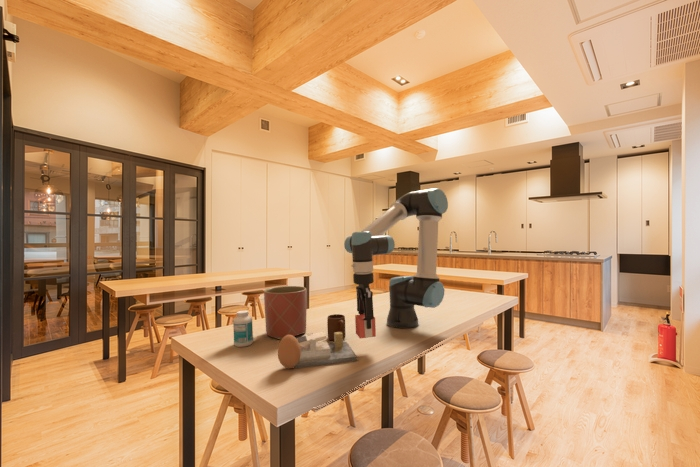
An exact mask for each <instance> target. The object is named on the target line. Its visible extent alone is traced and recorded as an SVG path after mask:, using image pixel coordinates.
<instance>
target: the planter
mask: <svg viewBox="0 0 700 467" xmlns="http://www.w3.org/2000/svg"><path fill="white" fill-rule="evenodd" d="M307 289H308V288H306V287H305V286H297V285H293V286H292V285H288V286H287V285H286V286H285V285H284V286H275V287H270V288H265V290H263V300H264V301H263V302H264V318H265V320H264V321H265V334H266V335H267V336H268V337H271V338H274V339H277V340H280V341H281V340H282V338H283V337H285V336H286V335H293V336H294V337H295V336H299V335H301V334H307V333H306V332H307V310H308V309H307V303H308V301H307V296H308V295H307V294H308V293H307Z"/></svg>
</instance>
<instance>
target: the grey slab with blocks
mask: <svg viewBox="0 0 700 467" xmlns="http://www.w3.org/2000/svg"><path fill="white" fill-rule="evenodd" d="M313 334H314V333H307V336H309V335H313ZM300 348H301V356H300V360H299V361H298V363H297V364H296V365H295V366H294V367H292V369H301V368H308V367H309V368H310V367H317V366H326V365H327V366H328V365H333V364H341V363H342V362H343V363H348V362H350V361H351V362H357V361H358V355H357V354H356V352H354V350H353V349H352V347H351V346H350V345H349V343H348V342H347V341H344V339H343V333H342V332H334V341H333V342H331V343H328V342H327V341H325V340H324V341H318V342H316V339H310V344H306V345H302V346H300ZM343 363H342V364H343Z"/></svg>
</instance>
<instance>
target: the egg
mask: <svg viewBox="0 0 700 467" xmlns="http://www.w3.org/2000/svg"><path fill="white" fill-rule="evenodd" d="M300 356H301V348H300V344H299V342H298V340H297V337H295V336H293V335H286V336H285V337H283V338H282V340H281V339H280V341H279V345H278V348H277V359H278V361H279V363H280V365H281V366H283V367H284V368H286V369H293V367H294V366H295V365H296V364H297V363H298V361H299V360H300Z"/></svg>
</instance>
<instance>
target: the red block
mask: <svg viewBox="0 0 700 467" xmlns="http://www.w3.org/2000/svg"><path fill="white" fill-rule="evenodd" d="M354 317H355V318H354V320H355V334H356V335H357V337H358V338H359V339H367V338H369V337H367V338H365V330H364V320H363V319H364V318H365V315H364V314H361V315H360V314H355V315H354ZM376 330H377V329H376V317H375V316H374V319H372V337H371V338H375V337H376V336H377V334H376V333H377V332H376Z"/></svg>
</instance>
